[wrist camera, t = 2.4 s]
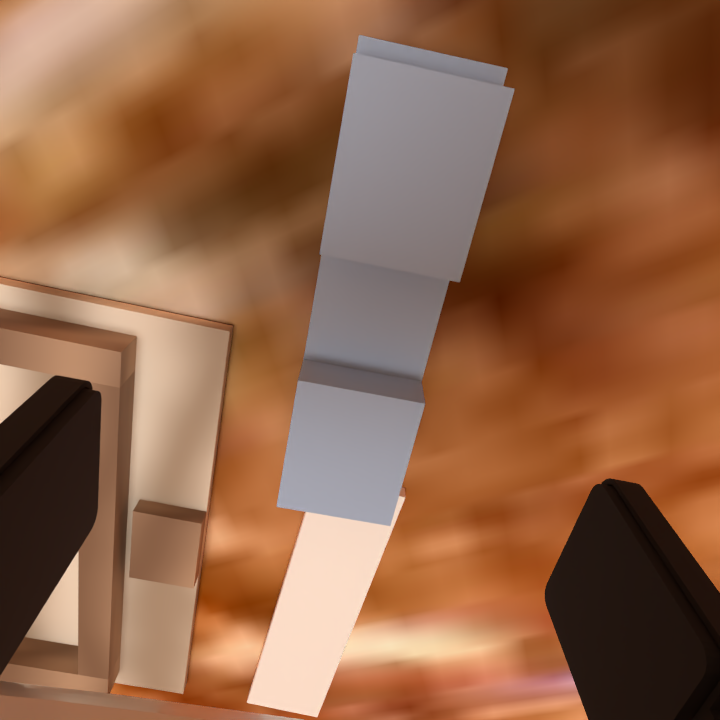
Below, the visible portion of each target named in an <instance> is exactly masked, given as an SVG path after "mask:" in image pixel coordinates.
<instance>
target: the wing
mask: <svg viewBox="0 0 720 720" xmlns="http://www.w3.org/2000/svg"><path fill="white" fill-rule="evenodd" d="M404 500H405V488H403V487H401V491H400V494H399V498H398V501H397V505H396V508H395V512H394V515H393V519H392V522H391V526H386V525H380V524H375V523H369V522H363V521H357V520H351V519H345V518H339V517H333V516H328V515H322V514H316V513H310V512H304V516H303V519H302V522H301V525H300V529H299V532H298V535H297V538H296V542H295V545H294V548H293V551H292V554H291V558H290V561H289V564H288V567H287V571H286V574H285V577H284V580H283V584H282V587H281V590H280V593H279V597H278V600H277V603H276V606H275V610H274V613H273V616H272V619H271V623H270V626H269V629H268V632H267V635H266V639H265V642H264V645H263V648H262V652H261V655H260V658H259V661H258V665H257V668H256V671H255V674H254V678H253V681H252V684H251V687H250V691H249V695H248V700H247V703H251V704H256V705H261V706H265V707H270V708H275V709H280V710H285V711H290V712H294V713H299V714H304V715H309V716H314V717H317V716H318V714H319V712H320V709H321V707H322V704H323V702H324V699H325V697H326V694H327V692H328V689H329V687H330V684H331V682H332V679H333V677H334V674H335V672H336V669H337V667H338V664H339V662H340V659H341V657H342V654H343V652H344V649H345V647H346V644H347V642H348V639H349V637H350V634H351V632H352V629H353V627H354V624H355V622H356V619H357V617H358V614H359V612H360V609H361V607H362V604H363V602H364V599H365V597H366V594H367V592H368V589H369V587H370V584H371V582H372V579H373V577H374V574H375V572H376V569H377V567H378V564H379V562H380V559H381V557H382V554H383V552H384V549H385V547H386V544H387V542H388V540H389V537H390V535H391V532H392V530H393V527H394V525H395V522H396V520H397V517H398V515H399V512H400V510H401V507H402V505H403V502H404Z"/></svg>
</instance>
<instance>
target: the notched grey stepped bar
mask: <svg viewBox="0 0 720 720" xmlns="http://www.w3.org/2000/svg"><path fill="white" fill-rule="evenodd" d="M507 70H508V68H505V67H500V66H496V65H491V64H487V63H482V62H478V61H474V60H469V59H465V58H460V57H456V56H451V55H447V54H442V53H438V52H434V51H429V50H425V49H420V48H416V47H411V46H407V45H402V44H398V43H393V42H389V41H385V40H380V39H376V38H371V37H367V36H362V35H359V38H358V44H357V50H356V53H353V59H352V65H351V71H350V77H349V82H348V88H347V94H346V100H345V106H344V112H343V118H342V124H341V130H340V136H339V141H338V147H337V153H336V159H335V165H334V171H333V177H332V183H331V189H330V194H329V200H328V206H327V212H326V218H325V224H324V230H323V236H322V242H321V248H320V253H319V254H320V255H321V260H320V266H319V272H318V278H317V283H316V289H315V295H314V301H313V307H312V313H311V319H310V324H309V330H308V336H307V342H306V348H305V354H304V359H303V363H302V367H301V371H300V375H299V378H298V383H297V389H296V395H295V401H294V407H293V413H292V418H291V424H290V430H289V436H288V442H287V448H286V454H285V460H284V466H283V472H282V477H281V483H280V489H279V495H278V501H277V507H281V508H287V509H292V510H298V511H304V512H310V513H316V514H322V515H328V516H333V517H339V518H345V519H351V520H357V521H363V522H369V523H375V524H380V525H386V526H391V522H392V519H393V515H394V512H395V508H396V505H397V501H398V498H399V494H400V491H401V487H402V484H403V480H404V477H405V473H406V469H407V466H408V462H409V459H410V455H411V452H412V448H413V445H414V441H415V438H416V434H417V431H418V427H419V424H420V420H421V417H422V413H423V410H424V406H425V399H424V393H423V387H422V378H423V375H424V371H425V367H426V364H427V360H428V356H429V353H430V349H431V346H432V342H433V338H434V335H435V331H436V327H437V324H438V320H439V317H440V313H441V309H442V306H443V302H444V298H445V295H446V291H447V288H448V284H449V280H450V281H455V282H460V280H461V276H462V273H463V269H464V266H465V262H466V259H467V255H468V252H469V248H470V245H471V241H472V238H473V234H474V231H475V227H476V224H477V220H478V217H479V213H480V210H481V206H482V202H483V199H484V195H485V192H486V188H487V185H488V181H489V178H490V174H491V171H492V167H493V164H494V160H495V157H496V153H497V150H498V146H499V143H500V139H501V136H502V132H503V129H504V125H505V122H506V118H507V115H508V111H509V108H510V104H511V101H512V97H513V94H514V90H515V89H514V88H509V87H505V86H503V85H504V81H505V78H506V74H507Z"/></svg>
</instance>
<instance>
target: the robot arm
mask: <svg viewBox="0 0 720 720" xmlns="http://www.w3.org/2000/svg"><path fill="white" fill-rule="evenodd" d="M101 403H102V398H101V393H100V392H99V391H96V390H93V387H92V384H91V383H90V381H86V380H81V379H75V378H70V377H65V376H59V375H55V376H53V377H52V378H50V379H49V380H48V381H47V382H46V383H45V384H44V385H43V386H42V387H40V388H39V389H38V390H37V391H36V392H35V393H34V394H33V395H32V396H30V397H29V398H28V399H27V400H26V401H25V402H24V403H23V404H22V405H20V406H19V407H18V408H17V409H16V410H15V411H14V412H13V413H12V414H10V415H9V416H8V417H7V418H6V419H5V420H4V421H3V422H2V423H0V676H1V674H2V672H3V671H4V669H5V668H6V666H7V664H8V663H9V661H10V660H11V658H12V656H13V655H14V653H15V652H16V650H17V648H18V647H19V645H20V644H21V642H22V640H23V639H24V637H25V636H26V634H27V632H28V631H29V629H30V628H31V626H32V624H33V623H34V621H35V620H36V618H37V616H38V615H39V613H40V612H41V610H42V608H43V607H44V605H45V604H46V602H47V600H48V599H49V597H50V596H51V594H52V592H53V591H54V589H55V588H56V586H57V584H58V583H59V581H60V580H61V578H62V576H63V575H64V573H65V572H66V570H67V568H68V567H69V565H70V564H71V562H72V560H73V559H74V557H75V556H76V554H77V552H78V551H79V549H80V548H81V546H82V544H83V543H84V541H85V539H86V538H87V536H88V535H89V533H90V531H91V530H92V528H93V526H94V523H95V520H96V517H97V512H98V492H99V463H100V433H101ZM545 602H546V606H547V609H548V611H549V614H550V617H551V619H552V622H553V625H554V628H555V630H556V633H557V636H558V638H559V641H560V644H561V647H562V649H563V652H564V655H565V657H566V660H567V663H568V665H569V668H570V671H571V674H572V676H573V679H574V682H575V684H576V687H577V690H578V693H579V695H580V698H581V701H582V703H583V706H584V709H585V712H586V714H587V717H588V720H720V593H719V591H718V590H717V589H716V587H715V586H714V584H713V583H712V582H711V580H710V579H709V578H708V576H707V575H706V574H705V572H704V571H703V569H702V568H701V567H700V565H699V564H698V563H697V561H696V560H695V558H694V557H693V556H692V554H691V553H690V552H689V550H688V549H687V547H686V546H685V545H684V543H683V542H682V541H681V539H680V538H679V537H678V535H677V534H676V532H675V531H674V530H673V528H672V527H671V526H670V524H669V523H668V521H667V520H666V519H665V517H664V516H663V515H662V513H661V512H660V511H659V509H658V508H657V506H656V505H655V504H654V502H653V501H652V500H651V498H650V497H649V495H648V494H647V493H646V491H645V490H644V489H643V487H642V486H640V485H639V484H636V483H631V482H626V481H621V480H615V479H606V480H605V481H603V482H602V484H597V485H595V486H594V487H593V489H592V490H591V492H590V494H589V496H588V499H587V501H586V503H585V505H584V507H583V509H582V511H581V513H580V515H579V517H578V520H577V522H576V524H575V526H574V528H573V530H572V532H571V534H570V536H569V538H568V541H567V543H566V545H565V547H564V549H563V551H562V553H561V555H560V557H559V560H558V562H557V564H556V566H555V568H554V570H553V572H552V574H551V576H550V578H549V581H548V583H547V585H546V589H545ZM0 720H303V719H295V718H288V717H281V716H273V715H266V714H258V713H251V712H243V711H236V710H229V709H221V708H214V707H206V706H199V705H191V704H184V703H176V702H169V701H161V700H154V699H146V698H139V697H131V696H124V695H116V694H109V693H101V692H92V691H84V690H75V689H66V688H58V687H49V686H41V685H32V684H23V683H15V682H6V681H0Z"/></svg>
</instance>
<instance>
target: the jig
mask: <svg viewBox="0 0 720 720" xmlns="http://www.w3.org/2000/svg"><path fill="white" fill-rule="evenodd" d="M232 332H233V326H232V325H228V324H223V323H218V322H213V321H208V320H204V319H199V318H194V317H189V316H184V315H180V314H175V313H170V312H165V311H160V310H156V309H151V308H146V307H141V306H136V305H132V304H127V303H122V302H117V301H112V300H108V299H103V298H98V297H93V296H88V295H84V294H79V293H74V292H69V291H64V290H60V289H55V288H50V287H45V286H40V285H36V284H31V283H26V282H21V281H16V280H12V279H7V278H2V277H0V423H2V422H3V421H4V420H5V419H6V418H7V417H8V416H9V415H10V414H12V413H13V412H14V411H15V410H16V409H17V408H18V407H19V406H20V405H22V404H23V403H24V402H25V401H26V400H27V399H28V398H29V397H30V396H32V395H33V394H34V393H35V392H36V391H37V390H38V389H39V388H40V387H42V386H43V385H44V384H45V383H46V382H47V381H48V380H49V379H50V378H52V377H53V376H55V375H59V376H65V377H70V378H75V379H81V380H86V381H90V383H91V384H92V387H93V390H96V391H99V392H100V393H101V398H102V403H101V433H100V463H99V492H98V512H97V517H96V520H95V523H94V526H93V528H92V530H91V531H90V533H89V535H88V536H87V538H86V539H85V541H84V543H83V544H82V546H81V548H80V549H79V551H78V552H77V554H76V556H75V557H74V559H73V560H72V562H71V564H70V565H69V567H68V568H67V570H66V572H65V573H64V575H63V576H62V578H61V580H60V581H59V583H58V584H57V586H56V588H55V589H54V591H53V592H52V594H51V596H50V597H49V599H48V600H47V602H46V604H45V605H44V607H43V608H42V610H41V612H40V613H39V615H38V616H37V618H36V620H35V621H34V623H33V624H32V626H31V628H30V629H29V631H28V632H27V634H26V636H25V637H24V639H23V640H22V642H21V644H20V645H19V647H18V648H17V650H16V652H15V653H14V655H13V656H12V658H11V660H10V661H9V663H8V664H7V666H6V668H5V669H4V671H3V672H2V674H1V676H0V681H6V682H15V683H23V684H32V685H41V686H49V687H58V688H66V689H75V690H84V691H92V692H101V693H109V694H110V692H111V689H112V687H113V685H114V683H120V684H126V685H132V686H138V687H144V688H151V689H157V690H163V691H169V692H175V693H182V694H183V693H184V689H185V686H186V683H187V675H188V667H189V660H190V652H191V645H192V637H193V629H194V622H195V614H196V606H197V599H198V591H199V584H200V576H201V568H202V561H203V553H204V545H205V538H206V530H207V522H208V515H209V507H210V500H211V492H212V484H213V477H214V469H215V461H216V454H217V446H218V439H219V431H220V423H221V416H222V408H223V400H224V393H225V385H226V377H227V370H228V362H229V355H230V347H231V339H232Z"/></svg>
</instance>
